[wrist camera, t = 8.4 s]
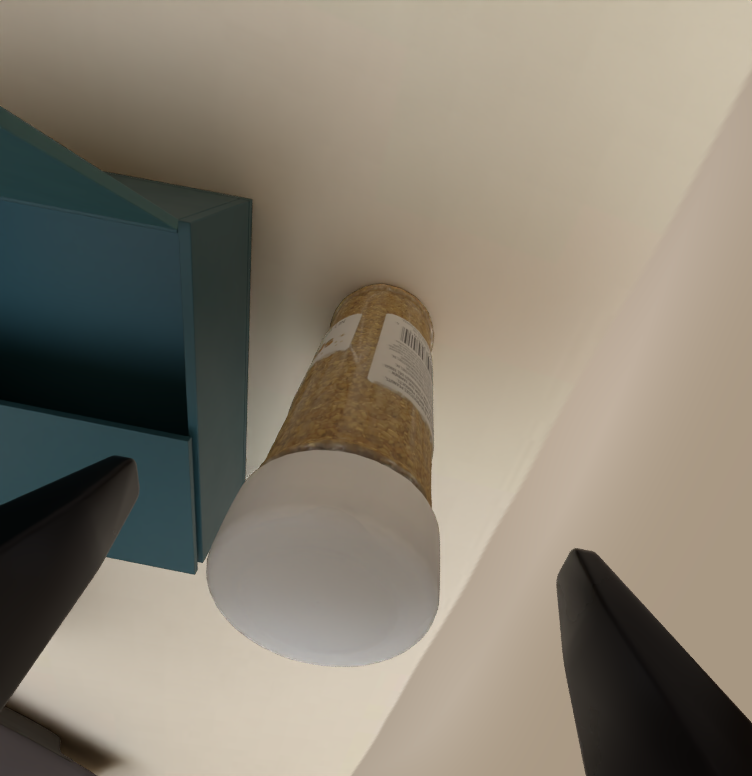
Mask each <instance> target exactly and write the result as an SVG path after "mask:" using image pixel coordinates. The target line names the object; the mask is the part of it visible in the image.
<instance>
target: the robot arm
mask: <svg viewBox="0 0 752 776" xmlns="http://www.w3.org/2000/svg"><path fill="white" fill-rule="evenodd" d="M139 490H140V487H139V479H138V471H137V464H136V462H135V460H134V459H132V458H128V457H123V456H118V455H113V456H110V457H108V458H105V459H103V460H101V461H99V462H96V463H94V464H92V465H90V466H87V467H85V468H83V469H81V470H78V471H76V472H74V473H72V474H70V475H67V476H65V477H63V478H61V479H58V480H56V481H54V482H52V483H49V484H47V485H45V486H43V487H40V488H38V489H36V490H34V491H31V492H29V493H27V494H25V495H22V496H20V497H18V498H16V499H13V500H11V501H9V502H7V503H4V504H2V505H0V712H1V711H2V709H3V708H4V706H5V705H6V703H7V702H8V700H9V699H10V697H11V696H12V695H13V693H14V692H15V690H16V689H17V687H18V686H19V684H20V683H21V681H22V680H23V679H24V677H25V676H26V674H27V673H28V671H29V670H30V668H31V667H32V665H33V664H34V663H35V661H36V660H37V658H38V657H39V655H40V654H41V652H42V651H43V650H44V648H45V647H46V645H47V644H48V642H49V641H50V639H51V638H52V636H53V635H54V634H55V632H56V631H57V629H58V628H59V626H60V625H61V623H62V622H63V620H64V619H65V618H66V616H67V615H68V613H69V612H70V610H71V609H72V607H73V606H74V604H75V603H76V602H77V600H78V599H79V597H80V596H81V594H82V593H83V591H84V590H85V589H86V587H87V586H88V584H89V583H90V581H91V580H92V578H93V577H94V575H95V574H96V572H97V571H98V569H99V568H100V566H101V564H102V563H103V561H104V559H105V558H106V556H107V554H108V552H109V550H110V548H111V547H112V545H113V543H114V541H115V539H116V537H117V536H118V534H119V532H120V530H121V528H122V526H123V525H124V523H125V521H126V519H127V517H128V515H129V514H130V512H131V510H132V508H133V506H134V504H135V503H136V501H137V499H138V496H139ZM556 585H557V597H558V608H559V619H560V630H561V641H562V652H563V660H564V667H565V672H566V678H567V683H568V688H569V693H570V698H571V703H572V708H573V713H574V718H575V723H576V728H577V733H578V738H579V743H580V748H581V754H582V758H583V764H584V768H585V774H586V776H752V723H751V721H750V720H749V719H748V718H747V717H746V716H745V715H744V714H743V713H742V712H741V711H740V709H739V708H738V707H737V706H736V705H735V704H734V703H733V702H732V701H731V700H730V699H729V697H728V696H727V695H726V694H725V693H724V692H723V691H722V690H721V689H720V688H719V687H718V685H717V684H715V682H714V681H713V680H712V679H711V678H710V677H709V676H708V675H707V673H706V672H705V671H704V670H703V669H702V668H701V667H700V666H699V665H698V664H697V663H696V662H695V660H694V659H693V658H692V657H691V656H690V655H689V654H688V653H687V652H686V651H685V649H684V648H683V647H682V646H681V645H680V644H679V643H678V642H677V641H676V640H675V639H674V637H673V636H672V635H671V634H670V633H669V632H668V631H667V630H666V629H665V628H664V627H663V625H662V624H661V623H660V622H659V621H658V620H657V619H656V618H655V617H654V616H653V615H652V613H651V612H650V611H649V610H648V609H647V608H646V607H645V606H644V605H643V604H642V603H641V602H640V600H639V599H638V598H637V597H636V596H635V595H634V594H633V593H632V592H631V591H630V590H629V588H628V587H627V586H626V585H625V584H624V583H623V582H622V581H621V580H620V579H619V577H618V576H617V575H616V574H615V573H614V572H613V571H612V570H611V569H610V568H609V567H608V565H607V564H606V563H605V562H604V561H603V560H602V559H601V558H600V557H599V556H598V555H597V554H596V553H595V552H592V551H588V550H583V549H578V548H575V549H573V550H571V552H570V553H569V555H568V557H567V559H566V560H565V562H564V564H563V566H562V568H561V570H560V572H559V574H558V576H557V584H556Z"/></svg>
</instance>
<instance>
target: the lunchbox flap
mask: <svg viewBox="0 0 752 776" xmlns="http://www.w3.org/2000/svg"><path fill="white" fill-rule="evenodd" d="M0 196H1V197H6V198H11V199H17V200H22V201H27V202H32V203H38V204H43V205H48V206H54V207H59V208H64V209H69V210H75V211H80V212H85V213H91V214H96V215H101V216H106V217H112V218H117V219H122V220H127V221H133V222H138V223H143V224H149V225H154V226H159V227H164V228H170V229H175V230H176V229H177V227H178V219H177V218H175V217H174V216H172V215H171V214H169V213H167V212H166V211H164V210H163V209H161V208H160V207H158V206H156V205H155V204H153V203H152V202H150V201H149V200H147V199H145V198H144V197H142V196H141V195H139V194H138V193H136V192H134V191H133V190H131V189H130V188H128V187H127V186H125V185H123V184H122V183H120V182H119V181H117V180H116V179H114V178H112V177H111V176H109V175H108V174H106V173H105V172H103V171H101V170H100V169H98V168H97V167H95V166H94V165H92V164H90V163H89V162H87V161H86V160H84V159H83V158H81V157H79V156H78V155H76V154H75V153H73V152H72V151H70V150H68V149H67V148H65V147H64V146H62V145H61V144H59V143H57V142H56V141H54V140H53V139H51V138H50V137H48V136H46V135H45V134H43V133H42V132H40V131H39V130H37V129H35V128H34V127H32V126H31V125H29V124H28V123H26V122H24V121H23V120H21V119H20V118H18V117H17V116H15V115H13V114H12V113H10V112H9V111H7V110H6V109H4V108H2V107H1V106H0Z"/></svg>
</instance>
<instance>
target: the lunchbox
mask: <svg viewBox="0 0 752 776" xmlns="http://www.w3.org/2000/svg"><path fill="white" fill-rule="evenodd" d="M103 172H104V171H103ZM105 173H106V174H108V175H109V176H111V177H112V178H114V179H116V180H117V181H119V182H120V183H122V184H123V185H125V186H127V187H128V188H130V189H131V190H133V191H134V192H136V193H138V194H139V195H141V196H142V197H144V198H145V199H147V200H149V201H150V202H152V203H153V204H155V205H156V206H158V207H160V208H161V209H163V210H164V211H166V212H167V213H169V214H171V215H172V216H174V217H175V218H177V219H178V227H177V229H176V230H175V229H170V228H164V227H159V226H154V225H149V224H143V223H138V222H133V221H127V220H122V219H117V218H112V217H106V216H101V215H96V214H91V213H85V212H80V211H75V210H69V209H64V208H59V207H54V206H48V205H43V204H38V203H32V202H27V201H22V200H17V199H11V198H6V197H1V196H0V505H2V504H4V503H7V502H9V501H11V500H13V499H16V498H18V497H20V496H22V495H25V494H27V493H29V492H31V491H34V490H36V489H38V488H40V487H43V486H45V485H47V484H49V483H52V482H54V481H56V480H58V479H61V478H63V477H65V476H67V475H70V474H72V473H74V472H76V471H78V470H81V469H83V468H85V467H87V466H90V465H92V464H94V463H96V462H99V461H101V460H103V459H105V458H108V457H110V456H113V455H118V456H123V457H128V458H132V459H134V460H135V462H136V464H137V471H138V479H139V487H140V490H139V496H138V499H137V501H136V503H135V504H134V506H133V508H132V510H131V512H130V514H129V515H128V517H127V519H126V521H125V523H124V525H123V526H122V528H121V530H120V532H119V534H118V536H117V537H116V539H115V541H114V543H113V545H112V547H111V548H110V550H109V552H108V554H107V556H106V557H109V558H114V559H119V560H124V561H129V562H134V563H139V564H144V565H149V566H154V567H159V568H164V569H169V570H174V571H179V572H184V573H189V574H194V575H195V574H196V572H197V570H198V566H197V562H201V563H203V562H204V560H205V558H206V556H207V554H208V552H209V551H210V549H211V546H212V544H213V541H214V539H215V537H216V535H217V533H218V531H219V529H220V527H221V525H222V523H223V520H224V518H225V516H226V514H227V513H228V511H229V509H230V507H231V505H232V503H233V501H234V499H235V497H236V495H237V494H238V492H239V490H240V488H241V487H242V485H243V484H244V482H245V466H246V427H247V388H248V350H249V311H250V272H251V233H252V199H248V198H243V197H237V196H232V195H227V194H221V193H216V192H211V191H205V190H200V189H195V188H189V187H184V186H179V185H174V184H168V183H163V182H158V181H152V180H147V179H142V178H136V177H131V176H126V175H120V174H115V173H110V172H105Z"/></svg>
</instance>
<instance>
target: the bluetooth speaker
mask: <svg viewBox="0 0 752 776" xmlns="http://www.w3.org/2000/svg"><path fill="white" fill-rule="evenodd" d="M0 776H96V775H95V774H94V773H92V772H90V771H89V770H87V769H86V768H84V767H82V766H81V765H79V764H77V763H76V762H74V761H73V760H72V759H70V758H68V757H67V756H65V755H63V754H62V753H61V751H60V738H59V737H58V736H57V735H55V734H54V733H52V732H51V731H49V730H48V729H46V728H44V727H42V726H41V725H39V724H37V723H35V722H33V721H32V720H30V719H28V718H26V717H24V716H22V715H20V714H18V713H16V712H14V711H12V710H10V709H8V708H7V707H5V706H4V708H3V709H2V711H1V712H0Z"/></svg>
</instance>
